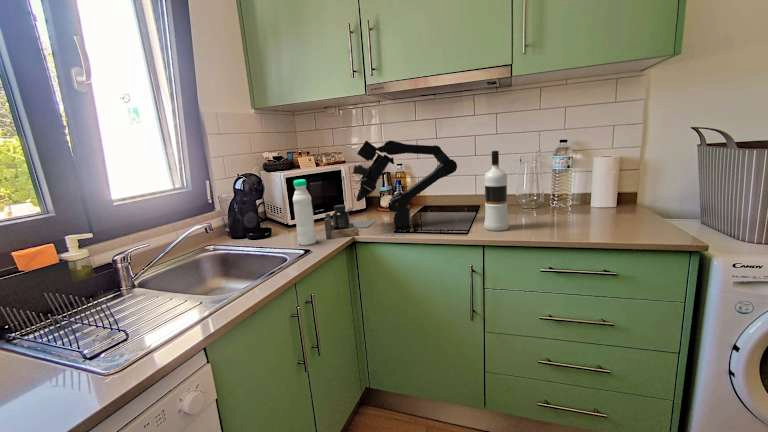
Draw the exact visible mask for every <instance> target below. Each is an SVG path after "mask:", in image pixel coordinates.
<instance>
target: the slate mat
mask: <svg viewBox="0 0 768 432" xmlns="http://www.w3.org/2000/svg"><path fill="white" fill-rule="evenodd" d="M349 222H350V223H353V224H354V226H356V229H369V228H370V227H371V226H372V225H373V224H375V223H376V222H377V221H376V220H351V221H349Z"/></svg>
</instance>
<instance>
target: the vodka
mask: <svg viewBox="0 0 768 432" xmlns="http://www.w3.org/2000/svg"><path fill="white" fill-rule="evenodd" d="M499 152H500V151H499V150H492V151H491V169H489V170H488V171H487V172H485V174H484V177H483V178H484V179H483V181H484V200H485V201H484V202H485V203H484V208H485V215H484V216H485V218H484V223H483V225H484V229H485V230H487V231H491V232H502V231H506V230H508V229H509V227H510V222H509V218H508V192H507V191H508V187H507V186H508V174H507V173H506V171H504V170H502V169H501V168H500V158H499V157H500V156H499V155H500V153H499Z"/></svg>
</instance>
